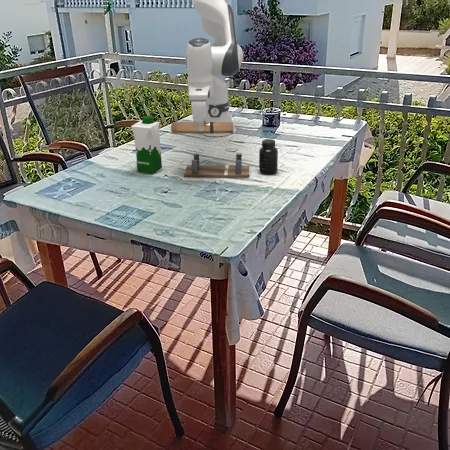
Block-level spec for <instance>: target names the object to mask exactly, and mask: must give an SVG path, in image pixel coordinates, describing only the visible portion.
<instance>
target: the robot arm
mask: <svg viewBox="0 0 450 450" xmlns="http://www.w3.org/2000/svg"><path fill="white" fill-rule="evenodd" d="M193 6H194V9H195V10H196V12H197V14H199V16H201V29H202V30H203V32H204V33H205V34H207V35H208V36H211V37H212V38H214V43H211V41H210V40H209V39H207V38H205V37H199V38H198V37H197V38H193V39H191V40H189V41H187V44H186V45H187V46H186V52H185V56H184V57H185V58H184V59H185V67H186V70H187V74H188V75H187V95H188V100H189V101H190V105H191V112H192V113H191V115H192V120H193V121H192V122H194V123H198V126H199V131H204V122H233V123H234V121H233V114H232V113H231V111H230V110H229V109H230V103H229V99H228V96H229V91H228V90H229V89H228V84H227V82H226V81H225V80H223V79H221V78H219V77H217V76H223V77H233V76H235V75H236V74H238V72H239V71H240V69H241V64H242V63H243V61H244V50H243V49H242V47H241V46H240V44H238V40H237V39H238V37H237V31H236V22H235V17H234V11H233V8H232V6H231V5H230V4H229V0H193ZM237 131H238V130H237V128H236V127H235V124H233V133H218V134H202V135H203V136H206V137H224V136H229V135H231V134H236V133H237Z"/></svg>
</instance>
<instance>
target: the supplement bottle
mask: <svg viewBox="0 0 450 450" xmlns="http://www.w3.org/2000/svg"><path fill="white" fill-rule="evenodd" d="M258 152H259V153H258V154H259V155H258V157H259V159H258V163H259V164H258V169H259V170H258V171H259V173H260V174H261V175H265V176H272V175H275V174H277V172H278V167H279V166H278V163H279V161H278V160H279V159H278V156H279V151H278V148H277V147H276V140H275V139H271V138H268V139H267V138H266V139H263V140H262V141H261V147H260V148H259V151H258Z"/></svg>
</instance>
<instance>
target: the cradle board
mask: <svg viewBox="0 0 450 450" xmlns="http://www.w3.org/2000/svg"><path fill="white" fill-rule="evenodd" d="M250 167H251V166H250V165H249V164H248V165H244V164H242V168H241V174H236V172H235V165H234V164H233V165H230V164H223V165H222V164H217V165H216V164H214V165H213V164H210V165H209V164H200V167H199V170H198V174H192V165H191V164H187V165H186V167H185V170H184V173H183V178H193V179H194V178H196V179H198V178H203V179H204V178H206V179H207V178H211V179H212V178H213V179H215V178H216V179H217V178H218V179H219V178H220V179H224V178H225V179H229V178H230V179H232V178H233V179H249V178H250Z"/></svg>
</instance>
